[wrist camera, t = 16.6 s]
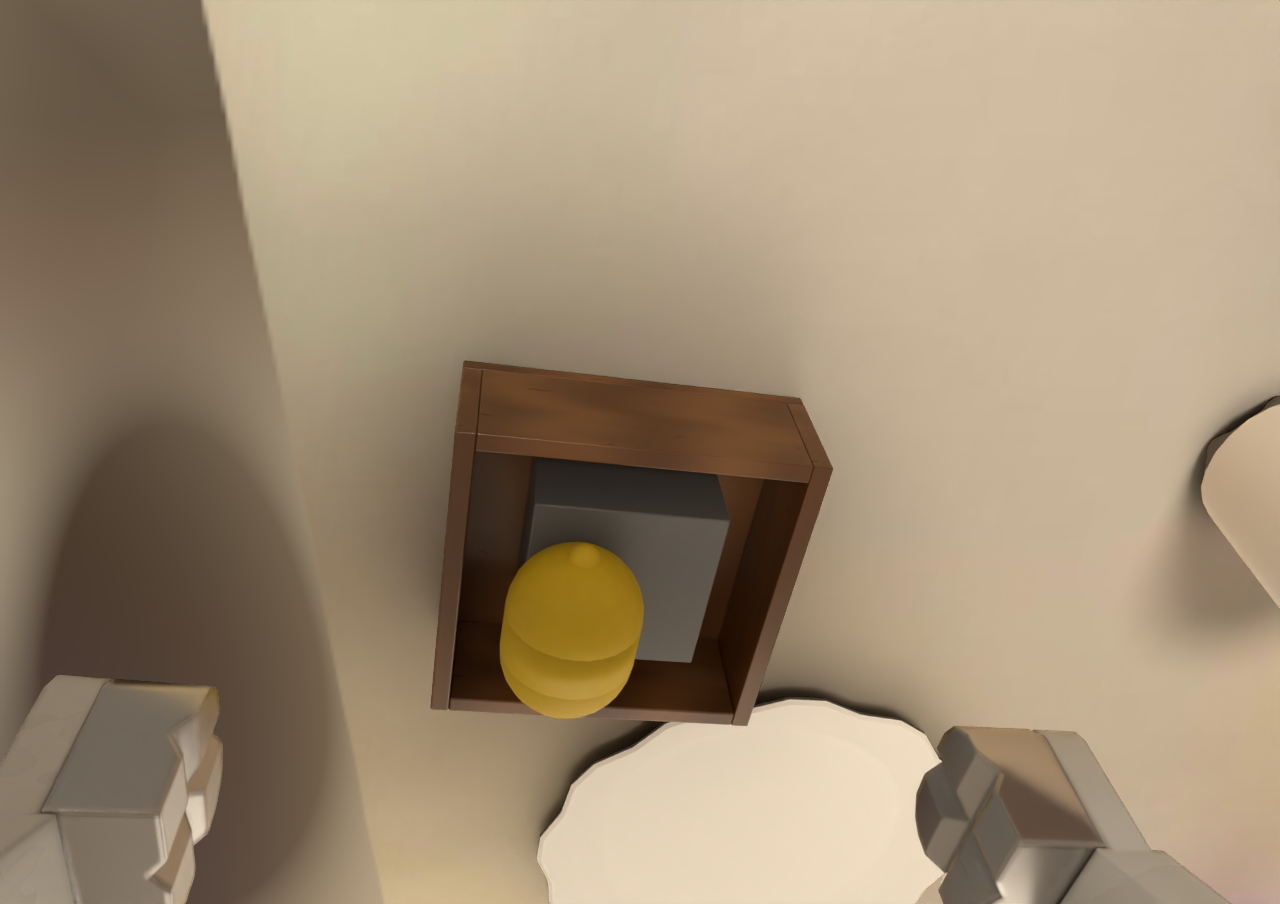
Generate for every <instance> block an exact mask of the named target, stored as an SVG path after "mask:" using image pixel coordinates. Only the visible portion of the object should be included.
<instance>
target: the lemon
mask: <svg viewBox="0 0 1280 904" xmlns="http://www.w3.org/2000/svg"><path fill="white" fill-rule="evenodd" d="M643 616H644V604H643V598H642V593H641V589H640V587H639V585H638V582H637V580H636V578H635V576H634V574H633V573H632V571H631V570H630V569H629V568H628V567H627V565H626V564H625V563H624V562H623V561H622V560H621V559H620V558H619V557H618V556H616V555H615V554H614V553H612V552H610V551H609V550H607V549H605V548H602V547H600V546H598V545H594V544H591V543H585V542H565V543H559V544H555V545H552V546H550V547H547V548H545V549H543V550H541V551H540V552H538V553H536V554H535V555H533V556H532V557H531V558H530V559H529V560H528V561H527V562H526V563H525V564H524V565H523V566H522V567H521V568H520V569H519V570H518V572H517V574H516V576H515V577H514V579H513V581H512V583H511V585H510V587H509V590H508V594H507V598H506V602H505V608H504V616H503V623H502V631H501V638H500V663H501V666H502V670H503V673H504V676H505V679H506V681H507V683H508V684H509V686H510V688H511V689H512V691H513V692H514V694H515V695H516V696H517V697H518V698H519V699H520V700H521V701H522V702H523V703H524V704H526V705H527V706H528V707H530V708H531V709H533V710H535V711H537V712H539V713H541V714H543V715H546V716H549V717H554V718H560V719H571V718H577V717H583V716H587V715H589V714H592V713H595V712H597V711H598V710H600V709H602V708H603V707H605V706H606V705H608V704H609V703H610V702H611V701H612V700H613V699H615V698H616V697H617V695H618V694H619V693H620V691H621V690H622V689H623V687H624V686H625V684H626V683H627V681H628V678H629V676H630V673H631V670H632V668H633V664H634V660H635V656H636V652H637V647H638V643H639V639H640V635H641V630H642V626H643Z"/></svg>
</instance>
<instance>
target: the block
mask: <svg viewBox="0 0 1280 904" xmlns="http://www.w3.org/2000/svg"><path fill="white" fill-rule="evenodd" d="M729 525H730V519H729V515H728V511H727V508H726V504H725V501H724V497H723V494H722V490H721V486H720V483H719V479H718V476H717V474H711V473H700V472H690V471H680V470H669V469H659V468H649V467H638V466H628V465H618V464H607V463H597V462H587V461H576V460H566V459H556V458H545V457H535V456H533V458H532V465H531V472H530V479H529V487H528V494H527V501H526V508H525V515H524V522H523V529H522V537H521V544H520V551H519V558H518V565H517V572H518V570H519V569H520V568H521V567H522V566H523V565H524V564H525V563H526V562H527V561H528V560H529V559H530V558H531V557H532V556H533V555H535V554H536V553H538V552H540V551H541V550H543V549H545V548H547V547H550V546H552V545H555V544H559V543H565V542H585V543H591V544H594V545H598V546H600V547H602V548H605V549H607V550H609V551H610V552H612V553H614V554H615V555H616V556H618V557H619V558H620V559H621V560H622V561H623V562H624V563H625V564H626V565H627V567H628V568H629V569H630V570H631V571H632V573H633V574H634V576H635V578H636V580H637V582H638V585H639V587H640V589H641V593H642V598H643V604H644V616H643V626H642V630H641V635H640V639H639V643H638V647H637V652H636V656H635V659H639V660H655V661H671V662H687V663H690V662H691V661H692V658H693V655H694V651H695V647H696V644H697V640H698V637H699V633H700V629H701V626H702V622H703V619H704V615H705V611H706V608H707V604H708V601H709V597H710V593H711V590H712V586H713V583H714V579H715V575H716V572H717V568H718V564H719V561H720V557H721V554H722V550H723V546H724V543H725V539H726V536H727V532H728V528H729ZM517 572H516V574H517Z"/></svg>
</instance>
